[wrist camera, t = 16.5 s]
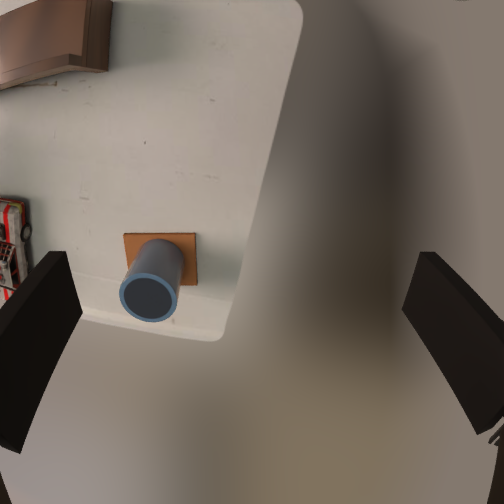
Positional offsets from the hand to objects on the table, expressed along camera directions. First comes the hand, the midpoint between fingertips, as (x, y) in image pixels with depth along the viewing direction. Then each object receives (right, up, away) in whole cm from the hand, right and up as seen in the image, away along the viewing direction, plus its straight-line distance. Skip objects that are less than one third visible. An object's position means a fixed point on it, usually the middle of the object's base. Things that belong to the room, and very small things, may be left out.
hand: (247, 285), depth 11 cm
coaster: (-13, 0, +32) cm, 35 cm away
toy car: (-38, +2, +29) cm, 48 cm away
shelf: (-29, +28, +17) cm, 44 cm away
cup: (-13, 0, +32) cm, 34 cm away
